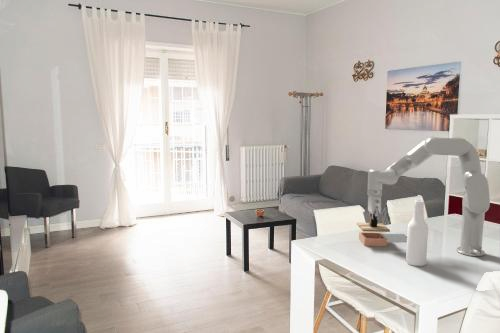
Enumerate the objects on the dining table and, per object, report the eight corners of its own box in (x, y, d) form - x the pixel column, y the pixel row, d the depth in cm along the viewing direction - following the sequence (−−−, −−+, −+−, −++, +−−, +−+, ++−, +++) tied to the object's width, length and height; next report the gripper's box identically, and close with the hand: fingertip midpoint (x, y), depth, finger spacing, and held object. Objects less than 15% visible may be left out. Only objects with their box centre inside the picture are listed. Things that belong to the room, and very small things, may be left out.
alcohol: (409, 258, 193) (412, 198, 190) (428, 263, 188) (432, 200, 184) (403, 263, 186) (406, 200, 183) (422, 268, 181) (426, 203, 177)
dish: (387, 247, 211) (387, 238, 210) (364, 246, 211) (364, 238, 211) (380, 240, 223) (380, 232, 222) (358, 240, 223) (359, 232, 223)
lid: (389, 231, 209) (390, 220, 208) (363, 231, 209) (363, 220, 209) (381, 224, 223) (382, 214, 222) (356, 224, 223) (357, 214, 223)
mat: (414, 243, 217) (414, 242, 217) (384, 243, 218) (384, 242, 218) (404, 235, 233) (404, 234, 233) (376, 234, 234) (376, 233, 234)
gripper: (386, 195, 205) (384, 230, 208) (377, 189, 222) (375, 221, 224) (371, 195, 206) (370, 229, 208) (363, 189, 222) (362, 221, 224)
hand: (373, 225), depth 216 cm, fingers closed on lid, 3 cm apart
